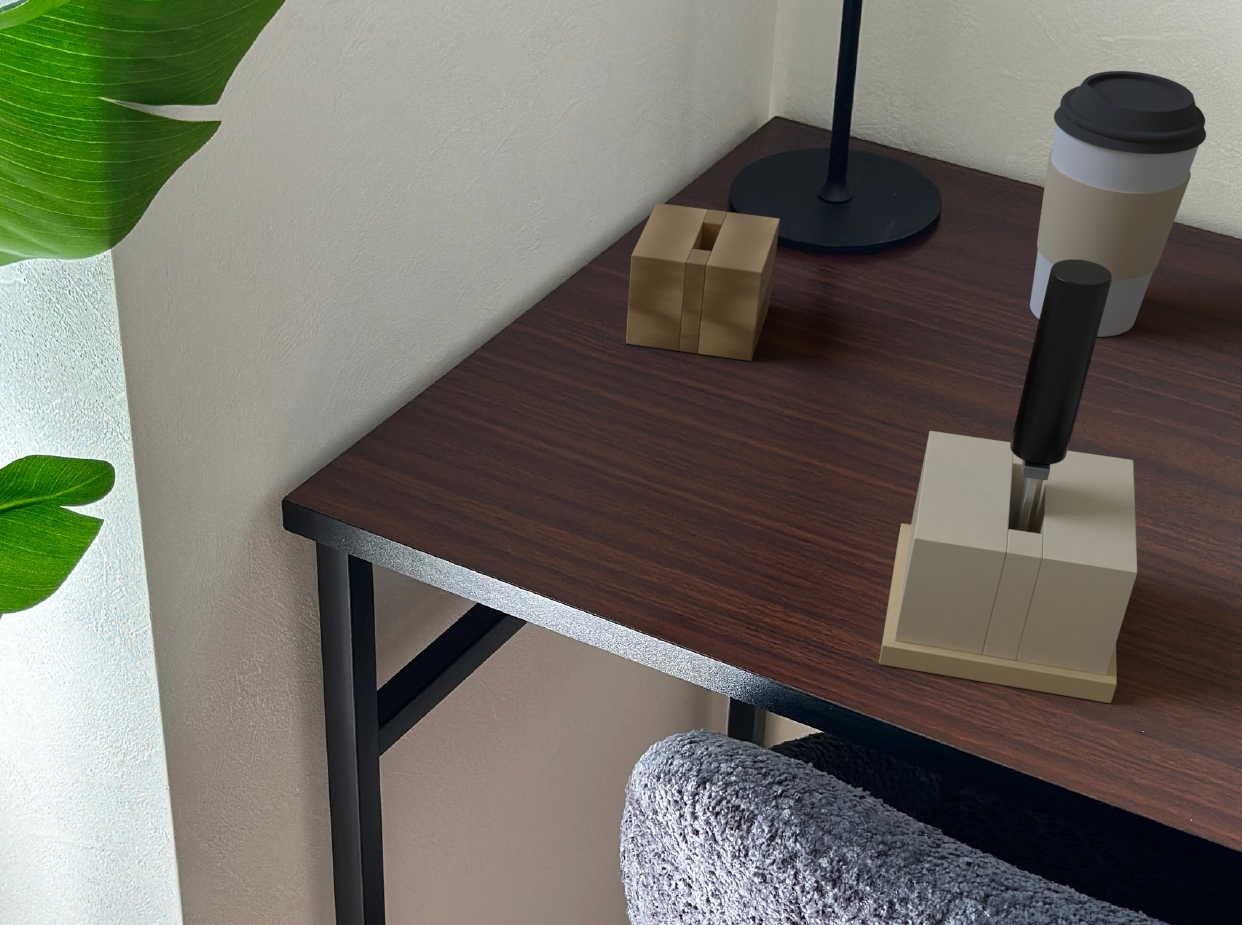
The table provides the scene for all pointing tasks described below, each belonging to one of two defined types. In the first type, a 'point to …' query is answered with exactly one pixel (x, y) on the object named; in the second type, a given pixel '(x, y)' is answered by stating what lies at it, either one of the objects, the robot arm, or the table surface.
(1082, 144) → the coffee cup
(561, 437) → the table surface
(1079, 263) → the knife
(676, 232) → the knife block
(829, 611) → the table surface
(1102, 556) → the slotted block on base
